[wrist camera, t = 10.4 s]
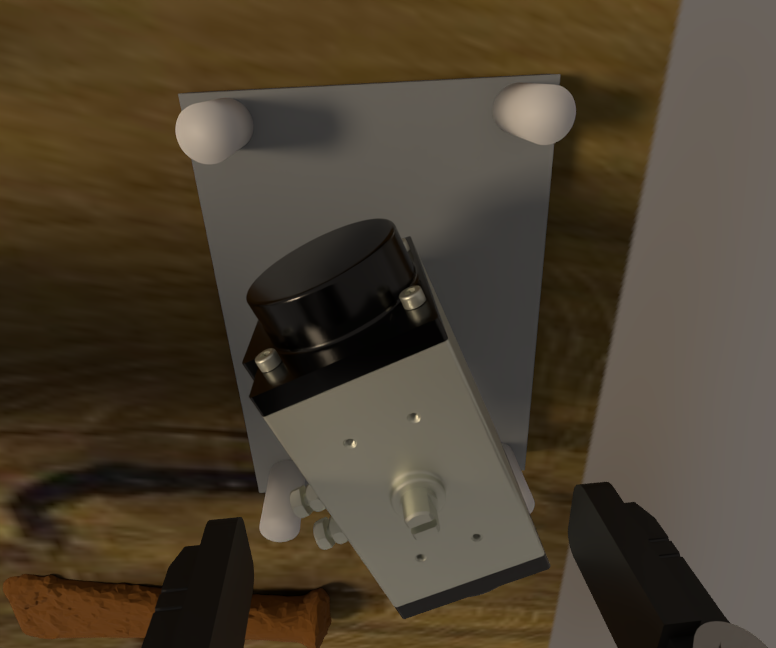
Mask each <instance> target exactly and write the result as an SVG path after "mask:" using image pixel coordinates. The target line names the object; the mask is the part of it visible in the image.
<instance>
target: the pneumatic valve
mask: <svg viewBox="0 0 776 648" xmlns="http://www.w3.org/2000/svg"><path fill="white" fill-rule="evenodd" d="M246 300H247V303H248V305H249V306H250V308H251V310H252V311H253V313H254V314H255V316H256V317H257V319H258V321H257V324H256V327H255V329H254V332H253V335H252V337H251V340H250V343H249V345H248V348H247V351H246V353H245V356H244V358H243V361H242V364H243V366H244V367H245V369H246V370H247V372H248V373H249V375H250V376H251V378H252V379H253V381H254V382H253V385H252V388H251V391H250V394H249V398H250V400H251V401H252V402H253V404H254V405H255V407H256V408H257V410H258V411H259V412H260V414H261V415H262V417H263V418H264V420H265V421H266V423H267V424H268V425H269V427H270V428H271V430H272V431H273V433H274V434H275V435H276V437H277V438H278V440H279V441H280V443H281V444H282V446H283V447H284V448H285V450H286V451H287V453H288V454H289V456H290V457H291V459H292V460H293V461H294V463H295V464H296V466H297V467H298V469H299V470H300V471H301V473H302V474H303V476H304V477H305V479H306V480H307V482H308V483H309V484H307V486H306V487H305V486H304V485H302V486H300V487H297V488H295V489H294V490H292V491H291V492H290V504H291V507H292V510H293V512H294V513H295V515H296V516H297V517H300V518H304V517H306V516H309V515H310V514H311V513H312V512H313V511H316V512H319V511H322V510H324V509H327V510H328V512H329V513H330V515H331V517H330V518H329V520H328V518H327V517H325V518H322V519H320V520H318V521H317V522H315V523H314V527H313V531H314V537H315V540H316V542H317V544H318V546H319V547H320V548H321V549H324V550H326V549H329V548H332V547H333V545H334V544H335V542H336V543H339V544H342V543H345V542H347V541H349V542H350V543H351V545H352V546H353V548H354V549H355V551H356V552H357V554H358V555H359V556H360V558H361V559H362V561H363V562H364V564H365V565H366V566H367V568H368V569H369V571H370V572H371V574H372V575H373V577H374V578H375V579H376V581H377V582H378V584H379V585H380V587H381V588H382V589H383V591H384V592H385V594H386V595H387V597H388V598H389V600H390V601H391V602H392V604H393V605H394V607H395V608H396V610H397V611H398V613H399V614H400V615H401V617H402V618H403V619H406V618H409V617H412V616H415V615H417V614H420V613H423V612H426V611H429V610H432V609H435V608H438V607H440V606H443V605H446V604H449V603H452V602H455V601H458V600H461V599H464V598H466V597H472V596H477V595H481V594H484V593H487V592H489V591H491V590H493V589H495V588H497V587H498V586H501V585H504V584H507V583H510V582H513V581H515V580H518V579H521V578H524V577H527V576H530V575H533V574H536V573H538V572H541V571H544V570H547V569H549V568H550V563H549V561H548V558H547V556H546V553H545V551H544V548H543V546H542V543H541V541H540V538H539V536H538V533H537V531H536V528H535V526H534V523H533V521H532V518H531V516H530V513H529V511H528V508H527V506H526V503H525V501H524V498H523V496H522V493H521V491H520V488H519V486H518V483H517V481H516V478H515V475H514V473H513V470H512V468H511V465H510V463H509V460H508V458H507V455H506V453H505V450H504V448H503V445H502V443H501V440H500V438H499V435H498V433H497V431H496V429H495V426H494V424H493V422H492V419H491V417H490V415H489V413H488V410H487V408H486V406H485V404H484V401H483V399H482V397H481V395H480V392H479V390H478V388H477V385H476V383H475V381H474V379H473V376H472V374H471V372H470V370H469V367H468V365H467V363H466V361H465V358H464V356H463V354H462V352H461V349H460V347H459V345H458V342H457V340H456V338H455V336H454V333H453V331H452V329H451V327H450V324H449V322H448V320H447V318H446V315H445V313H444V311H443V309H442V306H441V304H440V302H439V299H438V297H437V295H436V293H435V290H434V288H433V286H432V284H431V281H430V279H429V277H428V275H427V272H426V270H425V268H424V266H423V263H422V261H421V259H420V256H419V254H418V252H417V250H416V247H415V245H414V243H413V241H412V238H411V236H408V237H406V238H401V236H400V234H399V232H398V230H397V228H396V225H395V224H394V223H393V222H392V221H390V220H388V219H383V218H376V219H368V220H363V221H359V222H355V223H352V224H349V225H346V226H343V227H340V228H338V229H335V230H333V231H330V232H328V233H326V234H323V235H321V236H319V237H317V238H315V239H313V240H311V241H309V242H307V243H306V244H304V245H302V246H300V247H298V248H297V249H295V250H293V251H292V252H290V253H289V254H287V255H285V256H284V257H282V258H281V259H280V260H278V261H277V262H275V263H274V264H273V265H271V266H270V267H269V268H268V269H266V270H265V271H264V272H263V273H262V274H261V275H260V276H259V277H258V278H257V279H256V280H255V281H254V282H253V284H252V285H251V286H250V288H249V290H248V292H247V295H246Z"/></svg>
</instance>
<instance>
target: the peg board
mask: <svg viewBox="0 0 776 648" xmlns="http://www.w3.org/2000/svg"><path fill="white" fill-rule="evenodd" d="M559 84H560V74H539V75H519V76H500V77H480V78H461V79H442V80H422V81H403V82H384V83H364V84H345V85H326V86H306V87H287V88H268V89H248V90H229V91H210V92H190V93H182V94H178V96H179V101H180V105H181V110H182V112H181V113H180V115H179V117H178V119H177V122H176V137H177V141H178V143H179V145H180V147H181V149H182V150H183V151H184V152H185V154H186V155H188V156H189V157H190V158H191V159H192V164H193V169H194V174H195V179H196V184H197V189H198V194H199V199H200V203H201V208H202V213H203V218H204V223H205V228H206V233H207V238H208V243H209V248H210V253H211V257H212V262H213V267H214V272H215V277H216V282H217V287H218V292H219V297H220V302H221V306H222V311H223V316H224V321H225V326H226V331H227V336H228V341H229V346H230V351H231V356H232V360H233V365H234V370H235V375H236V380H237V385H238V390H239V395H240V400H241V405H242V409H243V414H244V419H245V424H246V429H247V434H248V439H249V444H250V449H251V454H252V458H253V463H254V468H255V473H256V478H257V483H258V488H259V493H263V492H266V495H265V500H264V505H263V511H262V516H261V521H260V532H261V534H262V535H263V536H264V537H265V538H267V539H269V540H271V541H275V542H285V541H289V540H291V539H293V538H295V537H296V536H297V535H298V533H299V531H300V522H301V518H300V517H297V516H296V515H295V513H294V512H293V510H292V507H291V504H290V492H291V491H292V490H294V489H295V488H297V487H300V486H302V485H304V486H305V487H306V486H307V484H309V483H308V482H307V480H306V479H305V477H304V476H303V474H302V473H301V471H300V470H299V469H298V467H297V466H296V464H295V463H294V461H293V460H292V459H291V457H290V456H289V454H288V453H287V451H286V450H285V448H284V447H283V446H282V444H281V443H280V441H279V440H278V438H277V437H276V435H275V434H274V433H273V431H272V430H271V428H270V427H269V425H268V424H267V423H266V421H265V420H264V418H263V417H262V415H261V414H260V412H259V411H258V410H257V408H256V407H255V405H254V404H253V402H252V401H251V400H250V398H249V394H250V391H251V388H252V385H253V382H254V381H253V379H252V378H251V376H250V375H249V373H248V372H247V370H246V369H245V367H244V366H243V364H242V361H243V358H244V356H245V353H246V351H247V348H248V345H249V343H250V340H251V337H252V335H253V332H254V329H255V327H256V324H257V321H258V319H257V317H256V316H255V314H254V313H253V311H252V310H251V308H250V306H249V305H248V303H247V300H246V295H247V292H248V290H249V288H250V286H251V285H252V284H253V282H254V281H255V280H256V279H257V278H258V277H259V276H260V275H261V274H262V273H263V272H264V271H265V270H266V269H268V268H269V267H270V266H271V265H273V264H274V263H275V262H277V261H278V260H280V259H281V258H282V257H284V256H285V255H287V254H289V253H290V252H292V251H293V250H295V249H297V248H298V247H300V246H302V245H304V244H306V243H307V242H309V241H311V240H313V239H315V238H317V237H319V236H321V235H323V234H326V233H328V232H330V231H333V230H335V229H338V228H340V227H343V226H346V225H349V224H352V223H355V222H359V221H363V220H368V219H376V218H383V219H388V220H390V221H392V222H393V223H394V224H395V225H396V228H397V230H398V232H399V234H400V236H401V238H406V237H408V236H411V238H412V241H413V243H414V245H415V247H416V250H417V252H418V254H419V256H420V259H421V261H422V263H423V266H424V268H425V270H426V272H427V275H428V277H429V279H430V281H431V284H432V286H433V288H434V290H435V293H436V295H437V297H438V299H439V302H440V304H441V306H442V309H443V311H444V313H445V315H446V318H447V320H448V322H449V324H450V327H451V329H452V331H453V333H454V336H455V338H456V340H457V342H458V345H459V347H460V349H461V352H462V354H463V356H464V358H465V361H466V363H467V365H468V367H469V370H470V372H471V374H472V376H473V379H474V381H475V383H476V385H477V388H478V390H479V392H480V395H481V397H482V399H483V401H484V404H485V406H486V408H487V410H488V413H489V415H490V417H491V419H492V422H493V424H494V426H495V429H496V431H497V433H498V435H499V438H500V440H501V443H502V445H503V448H504V450H505V453H506V455H507V458H508V460H509V463H510V465H511V468H512V470H513V473H514V475H515V478H516V481H517V483H518V486H519V488H520V491H521V493H522V496H523V498H524V501H525V503H526V506H527V508H528V511H529V513H531V512H532V511H533V509H534V506H535V502H534V499H533V497H532V494H531V492H530V490H529V488H528V485H527V483H526V481H525V478H524V476H523V474H522V472H521V470H525V460H526V449H527V438H528V427H529V416H530V405H531V394H532V383H533V372H534V361H535V350H536V339H537V327H538V316H539V305H540V294H541V283H542V272H543V261H544V250H545V239H546V228H547V217H548V206H549V195H550V184H551V173H552V162H553V150H554V143H556V142H558V141H559V140H561V139H562V138H563V137H565V136H566V135H567V133H568V132H569V131H570V129H571V127H572V126H573V123H574V120H575V116H576V105H575V101H574V99H573V97H572V95H571V94H570V92H569V91H568V90H567V89H565V88H564V87H562V86H559Z"/></svg>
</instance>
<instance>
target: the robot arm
mask: <svg viewBox="0 0 776 648" xmlns="http://www.w3.org/2000/svg"><path fill="white" fill-rule="evenodd" d="M568 538H569V544H570V548H571V551H572V554H573V557H574V559H575V561H576V563H577V565H578V567H579V569H580V571H581V573H582V575H583V577H584V579H585V581H586V584H587V586H588V587H589V590H590V592H591V594H592V596H593V598H594V600H595V602H596V604H597V606H598V608H599V610H600V612H601V614H602V616H603V619H604V621H605V622H606V625H607V627H608V629H609V631H610V633H611V635H612V637H613V639H614V641H615V643H616V645H617V647H618V648H768V647H767V646H766V645H765V644H764V643H763V642H762V641H761V640H759V639H758V638H757V637H756V636H754V635H753V634H751V633H750V632H748V631H746V630H745V629H743V628H741V627H739V626H737V625H734V624H731V623H730V622H729V621H728V620H727V619H726V617H725V616H724V615H723V613H722V612H721V611H720V609H719V608H718V606H717V605H716V603H715V602H714V601H713V599H712V598H711V596H710V595H709V594H708V592H707V591H706V589H705V588H704V587H703V585H702V584H701V582H700V581H699V579H698V578H697V577H696V575H695V574H694V572H693V571H692V570H691V568H690V567H689V566H688V564H687V563H686V561H685V560H684V558H683V557H680V554H679V551H678V550H677V549H676V547H675V546H674V544H673V543H672V541H669V539H668V536H667V534H666V533H665V532H664V530H663V529H662V527H661V526H660V525H659V523H658V522H657V520H656V519H655V518H654V517H653V516H652V515H650V514H649V513H648V512H647V511H645V510H644V509H643V508H642V507H640V506H639V505H638V504H636V503H635V502H631V503H624V502H623V501H622V499H621V498H620V496H619V495H618V493H617V492H616V490H615V489H614V487H613V486H612V485H611V484H610V483H609V482H600V483H590V484H580V485H576V486H575V488H574V492H573V499H572V506H571V513H570V520H569V526H568ZM253 585H254V567H253V560H252V555H251V551H250V547H249V542H248V538H247V534H246V529H245V525H244V521H243V519H242V517H237V518H227V519H216V520H209V521H208V522H207V524H206V527H205V530H204V533H203V537H202V540H201V544H200V545H197V546H187V547H184V548H183V550H182V551H181V552H180V553H179V555H178V556H177V557H176V559H175V560H174V561H173V562H172V564H171V565H170V566H169V568H168V571H167V574H166V577H165V580H164V583H163V586H162V589H161V594H160V595H159V597H158V600H157V603H156V606H155V613H153V615H152V618H151V621H150V624H149V627H148V630H147V633H146V636H145V639H144V642H143V644H142V647H141V648H244V642H245V636H246V629H247V623H248V617H249V611H250V605H251V599H252V593H253Z"/></svg>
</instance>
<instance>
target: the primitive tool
mask: <svg viewBox="0 0 776 648" xmlns="http://www.w3.org/2000/svg"><path fill="white" fill-rule="evenodd" d="M161 589H162V588H156V587H146V586H140V585H128V584H125V583H121V584H112V583H107V584H105V583H98V582H91V581H77V580H66V579H59V578H57V577H55V576H53V575H48V576H37V575H30V574H23V575H22V576H15V577H10V578H8V579H7V580H6V581H5V582H4V584H3V591H4V593H5V595H6V597H7V598H8V599H9V603H10V604H11V606H12V609H13V611H14V613H15V616H16V618H17V620H18V622H19V624H20V627H21V629H22V631H23V632H24V633H25V634H26V635H29V636H33V637H38V638H44V639H55V638H93V637H119V638H143V637H145V636H146V633H147V630H148V627H149V624H150V621H151V618H152V615H153V613H155V606H156V603H157V600H158V597H159V595H160V594H161ZM329 601H330V598H329V596H328V594H327V593H326V591H325V590H324V589H322V588H319V589H316V590H312V591H311V592H309V593H308V594H305V595H303V596H287V597H286V596H276V595H259V594H253V595H252V599H251V605H250V611H249V617H248V623H247V629H246V636H245V640H248V639H253V640H271V641H282V642H298V643H302V644H303V645H305V646H306V647H307V648H319V647H320V646H321V644H322V642H323V639H324V637H325V636H326V634H327V631H328V628H329V626H330V625H331V617H330V604H329Z"/></svg>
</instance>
